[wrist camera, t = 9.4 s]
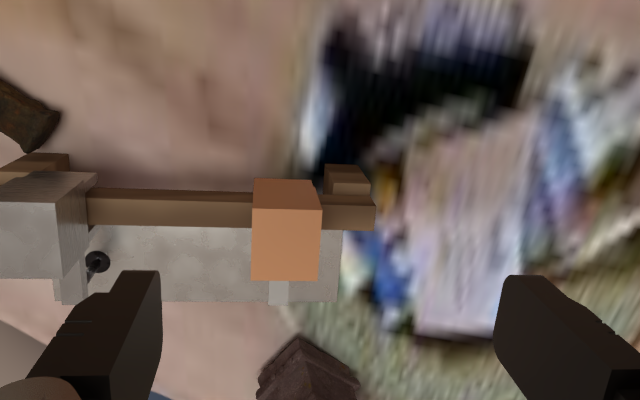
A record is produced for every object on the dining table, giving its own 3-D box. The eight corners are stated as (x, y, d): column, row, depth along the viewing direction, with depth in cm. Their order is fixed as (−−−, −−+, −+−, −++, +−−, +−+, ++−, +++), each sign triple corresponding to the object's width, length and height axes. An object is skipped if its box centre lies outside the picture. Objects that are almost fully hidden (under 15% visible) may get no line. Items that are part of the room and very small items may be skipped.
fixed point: (58, 152, 40) (-26, 201, 29) (114, 154, 41) (54, 203, 29) (70, 270, 44) (-1, 357, 32) (122, 271, 44) (71, 357, 33)
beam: (30, 152, 42) (-26, 181, 34) (357, 164, 45) (377, 193, 37) (35, 197, 43) (-17, 235, 35) (353, 206, 46) (372, 242, 38)
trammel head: (255, 159, 42) (252, 208, 31) (306, 161, 43) (322, 210, 31) (252, 272, 46) (248, 355, 34) (299, 273, 46) (312, 354, 35)
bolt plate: (50, 214, 43) (45, 219, 42) (341, 221, 47) (343, 226, 46) (59, 295, 46) (54, 301, 45) (335, 296, 49) (336, 302, 48)
